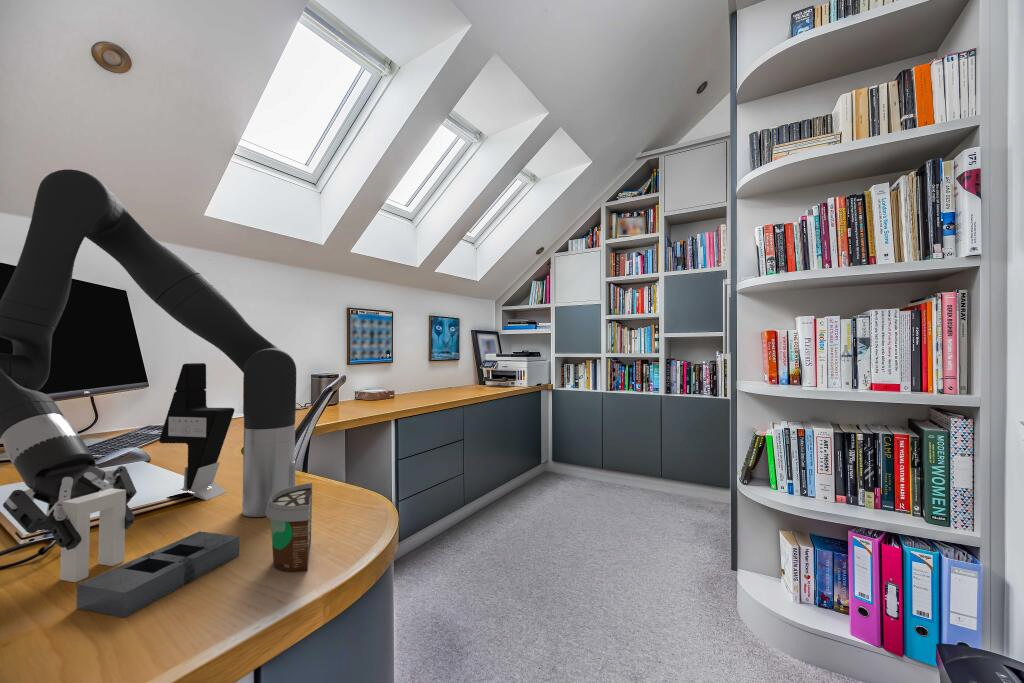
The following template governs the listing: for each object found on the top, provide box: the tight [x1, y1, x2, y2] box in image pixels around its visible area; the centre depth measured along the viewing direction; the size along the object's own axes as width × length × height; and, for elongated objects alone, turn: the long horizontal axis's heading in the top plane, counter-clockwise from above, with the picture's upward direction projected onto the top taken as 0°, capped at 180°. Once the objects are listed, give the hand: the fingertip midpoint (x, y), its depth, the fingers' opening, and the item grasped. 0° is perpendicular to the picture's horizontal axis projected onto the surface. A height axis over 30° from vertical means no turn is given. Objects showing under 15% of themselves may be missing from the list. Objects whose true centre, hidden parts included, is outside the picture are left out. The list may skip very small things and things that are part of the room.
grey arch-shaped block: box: [59, 488, 126, 583], centre depth 62 cm, size 6×3×11 cm, turn 167°
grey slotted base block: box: [76, 531, 240, 618], centre depth 59 cm, size 16×8×3 cm, turn 167°
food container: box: [265, 482, 313, 573], centre depth 64 cm, size 12×6×10 cm, turn 23°
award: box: [158, 362, 235, 501], centre depth 95 cm, size 15×5×30 cm, turn 81°
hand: (103, 535), depth 61 cm, fingers closed on grey arch-shaped block, 6 cm apart
